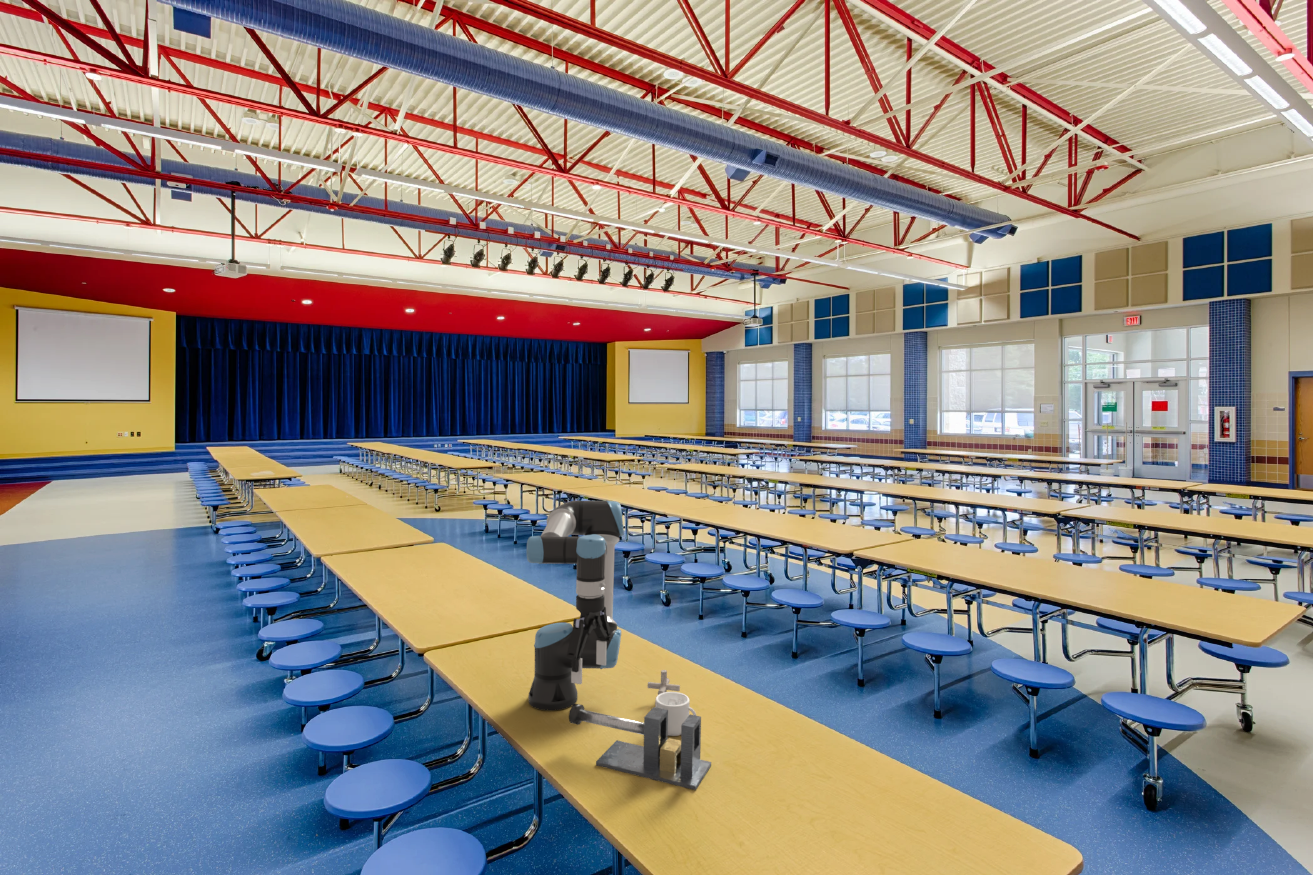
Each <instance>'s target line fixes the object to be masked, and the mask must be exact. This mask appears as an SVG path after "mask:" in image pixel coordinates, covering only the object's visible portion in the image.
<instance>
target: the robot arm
mask: <svg viewBox="0 0 1313 875" xmlns="http://www.w3.org/2000/svg"><path fill="white" fill-rule="evenodd" d="M572 535H573V536H572ZM574 535H575V536H574ZM622 536H624V523H623V511H622V506H621V504H620V502H619V501H615V500H612V501H611V500H607V499H606V500H579V499H578V500H572V501H571V500H570V501H568V502H565V503H562V504H560V505H558V506H557V507H555V508H554V509H553V510H552V511H550V513H549V514H548V516H547V519H546V526H545V528H544V530H543V531H542V533H541V535H533V536H529V537H528V539H527V541H526V559H527V562H528V563H530V564H538V565H542V564H545V565H546V564H548V565H551V564H555V565H556V564H559V565H560V564H562V565H567V564H568V565H569V564H570V565H576V583H575V584H576V585H575V593H576V596H575V609H576V610H577V611H578V612H579V613H580V616H579V618H574V619H573V620H572V621H573V622H572V623H570V622H556V623H555V622H554V623H550V624H547V625H544V626H542V627H540V628H539V629H538V630H537V631H536V633H535V636H534V645H533V646H534V677H533V680H532V682H531V686H530V688H529V691H528V704H529V705H530V707H532V708H534V709H536V710H541V711H548V712H549V711H550V712H551V711H559V710H560V711H561V710H564V709H568V708H571V707H572V705H573V704H577V701H578V690H577V686H576V685H582V684H583V669H600V670H602V669H612V668H615V667H616V666H617V663H618V660H619V654H620V653H619V652H620V649H621V648H620V647H621V646H620V645H621V639H622V638H621V637H622V630H621V629H620V628H618V623H617V622H616V621H615V620H614V617H613V613H614V580H615V578H614V577H615V576H614V575H615V574H614V573H615V547H616V545H618V543H619V542H620V537H622Z"/></svg>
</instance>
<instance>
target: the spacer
mask: <svg viewBox="0 0 1313 875" xmlns="http://www.w3.org/2000/svg"><path fill="white" fill-rule="evenodd" d="M676 763H679V764H681V739H675V738H671V737H668V740H667V741H666V742H665V743H664V744H663V746H662V747H661V748H660V770H662V771H666V772H670V773H674V774H675V773H676Z"/></svg>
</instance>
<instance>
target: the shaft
mask: <svg viewBox="0 0 1313 875" xmlns="http://www.w3.org/2000/svg"><path fill="white" fill-rule="evenodd" d="M568 720H569V724H573V725H577V726H579V725H580V724H582V722H584V723H587V724H593V725H598V726H603V727H606V728H612V729H616V730H620V731H625V732H629V733H633V734H639V735H643V736H644V721H643V722H641V721H638V720H633V719H628V718H623V717H619V716H615V715H611V714H610V715H609V714H605V713H600V712H596V711H590V710H586V709H585V706H584V705H583V704H580V703H575V704H573V705H572V706H570V710H569V713H568Z"/></svg>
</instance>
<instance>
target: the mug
mask: <svg viewBox="0 0 1313 875" xmlns="http://www.w3.org/2000/svg"><path fill="white" fill-rule="evenodd" d="M655 707H656V708H661V709H666V710H668V737H678V736H681V725H682V724H683V722H684V721H685V720H686V719H687V717H688V716H689V715H690V712H691V714H692V715H695V716H697V712H696V710H694V708H692V707H690V697H689V696H688V695H686V694H685V693H682V692H680V691H667V692H665V693H661V694H659V695H658V694H657V696H656V697H655Z"/></svg>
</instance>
